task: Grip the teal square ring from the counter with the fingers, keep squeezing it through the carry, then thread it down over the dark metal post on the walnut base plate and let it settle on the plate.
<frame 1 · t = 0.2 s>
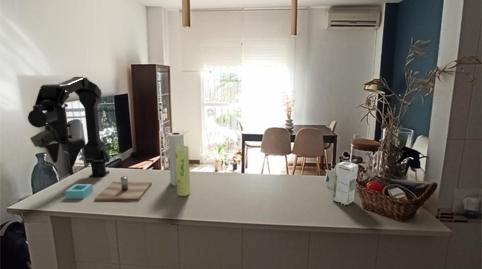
hand: (63, 164, 105), 13 cm above the counter, tool pointing down, fingers open, 9 cm apart
paper towel roll: (176, 183, 125), on the counter
post: (124, 183, 114), on the base plate, point 4 cm above the counter
base plate: (125, 192, 115), on the counter
tube: (183, 194, 114), on the counter
syrup box: (343, 202, 108), on the counter
ring: (80, 194, 112), on the counter
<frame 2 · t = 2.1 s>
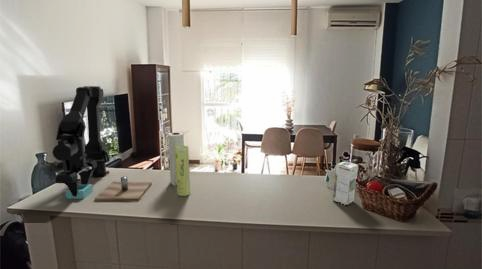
hand: (79, 192, 112), 1 cm above the counter, tool pointing down, fingers closed on ring, 7 cm apart
ring: (80, 194, 112), on the counter, touching gripper
everything else where it was.
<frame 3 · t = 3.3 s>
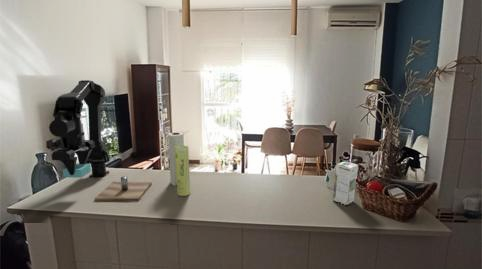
hand: (77, 171, 110), 9 cm above the counter, tool pointing down, fingers closed on ring, 7 cm apart
ring: (77, 174, 110), point 8 cm above the counter, touching gripper
everything else where it was.
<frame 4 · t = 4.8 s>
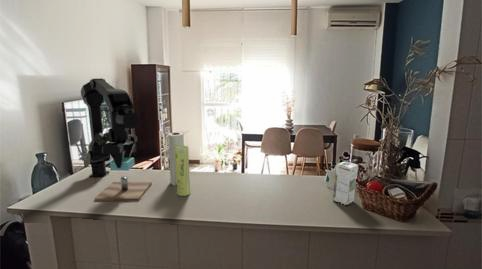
hand: (122, 165, 113), 11 cm above the counter, tool pointing down, fingers closed on ring, 7 cm apart
ring: (122, 167, 113), point 10 cm above the counter, touching gripper
everything else where it was.
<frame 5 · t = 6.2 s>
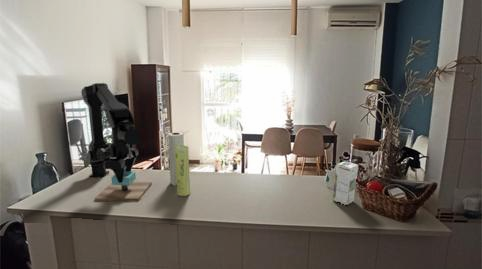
hand: (124, 179, 114), 5 cm above the counter, tool pointing down, fingers closed on ring, 7 cm apart
ring: (124, 181, 114), point 4 cm above the counter, touching gripper
everything else where it was.
when the fingers open (3 cm above the counter, at t = 7.5 s): ring drops 1 cm, resting on base plate.
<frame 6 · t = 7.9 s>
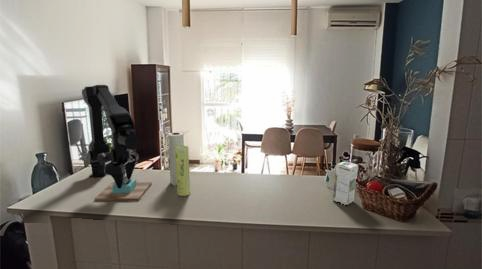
hand: (124, 183, 114), 3 cm above the counter, tool pointing down, fingers open, 9 cm apart
ring: (124, 189, 115), point 1 cm above the counter, touching base plate
everything else where it was.
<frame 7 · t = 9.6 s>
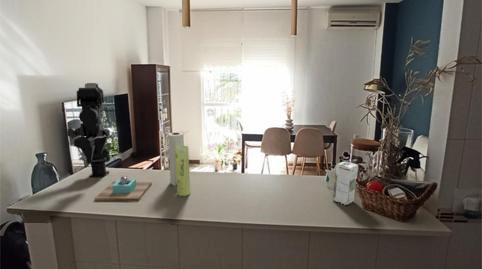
hand: (95, 157, 119), 12 cm above the counter, tool pointing down, fingers open, 9 cm apart
nothing on the counter moved.
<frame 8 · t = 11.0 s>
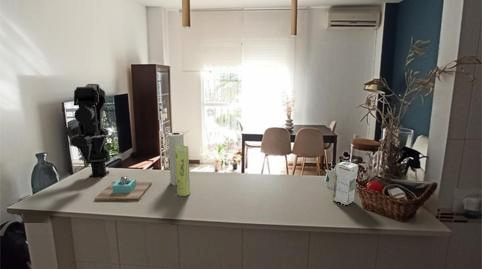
hand: (92, 157, 119), 12 cm above the counter, tool pointing down, fingers open, 9 cm apart
nothing on the counter moved.
at the end: ring 0.0 cm off-centre on the post, point 1.0 cm above the post's base; the gripper is holding nothing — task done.
